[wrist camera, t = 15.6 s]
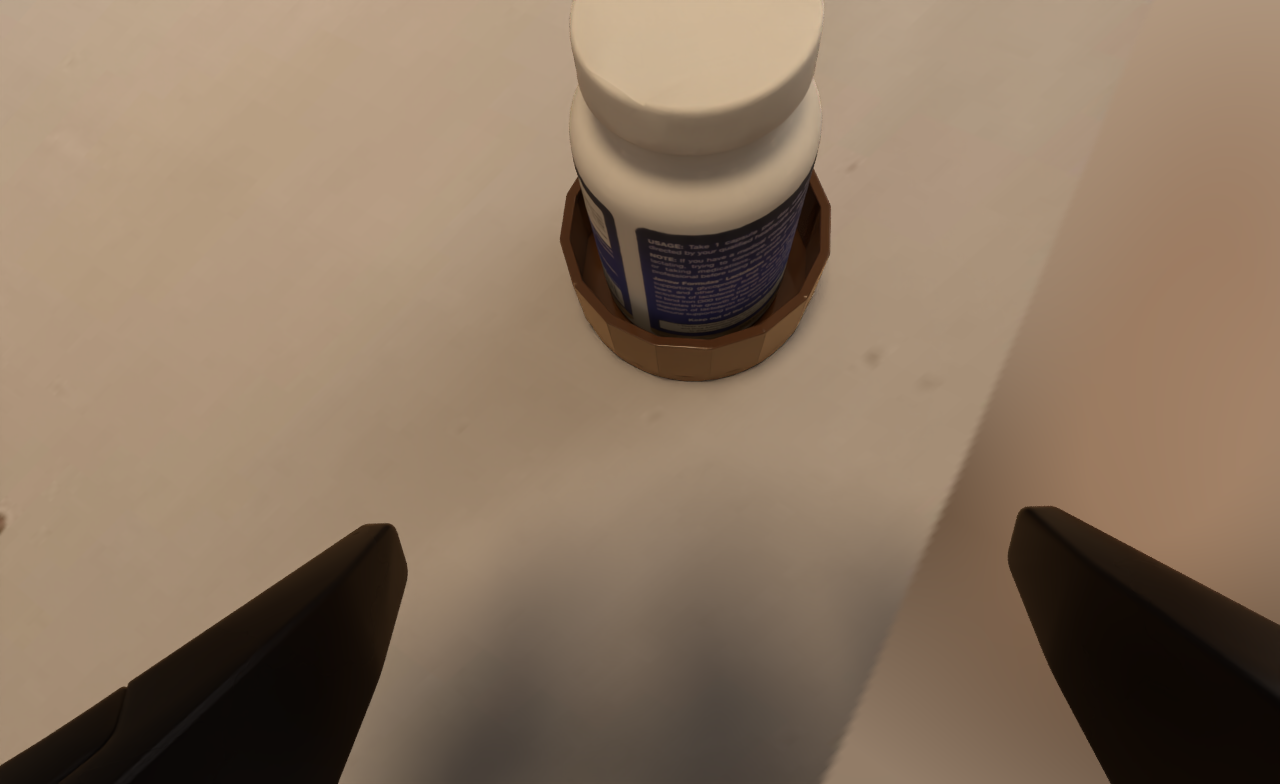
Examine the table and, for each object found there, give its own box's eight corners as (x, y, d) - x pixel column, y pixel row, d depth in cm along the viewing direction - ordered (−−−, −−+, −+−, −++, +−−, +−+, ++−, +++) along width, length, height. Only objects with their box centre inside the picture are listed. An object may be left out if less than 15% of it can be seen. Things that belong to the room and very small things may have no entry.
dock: (862, 280, 21) (889, 231, 18) (680, 430, 20) (678, 404, 17) (704, 133, 23) (707, 69, 20) (533, 262, 22) (509, 213, 19)
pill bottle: (812, 236, 21) (910, -51, 12) (729, 381, 20) (765, 192, 10) (660, 167, 22) (637, -143, 13) (573, 300, 21) (478, 65, 12)
